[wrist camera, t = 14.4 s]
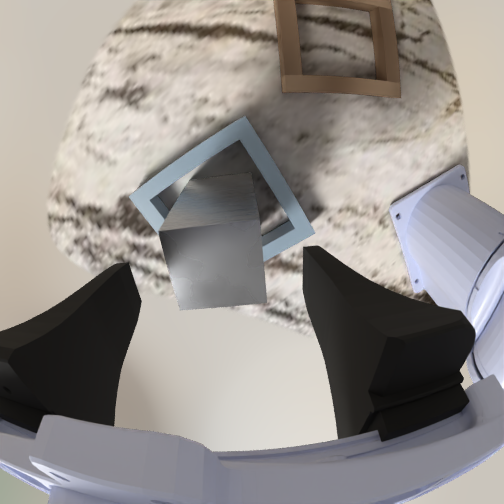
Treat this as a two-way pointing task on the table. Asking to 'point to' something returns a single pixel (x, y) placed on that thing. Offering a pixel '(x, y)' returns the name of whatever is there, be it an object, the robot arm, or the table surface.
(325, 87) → the walnut socket
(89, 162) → the table surface
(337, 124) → the table surface
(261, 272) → the grey metal block
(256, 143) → the light blue square frame
